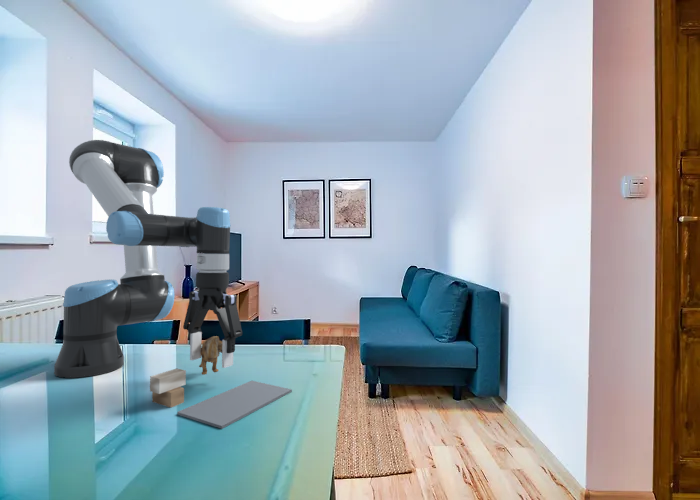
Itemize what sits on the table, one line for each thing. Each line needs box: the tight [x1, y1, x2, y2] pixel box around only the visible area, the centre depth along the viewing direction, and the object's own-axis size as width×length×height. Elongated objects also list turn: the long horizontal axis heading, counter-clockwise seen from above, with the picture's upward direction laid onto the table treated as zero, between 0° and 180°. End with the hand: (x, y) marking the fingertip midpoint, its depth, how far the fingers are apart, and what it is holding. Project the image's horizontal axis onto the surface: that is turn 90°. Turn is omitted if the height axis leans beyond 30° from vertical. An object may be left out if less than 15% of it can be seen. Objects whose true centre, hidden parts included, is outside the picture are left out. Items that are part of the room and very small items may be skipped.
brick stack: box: [149, 368, 187, 408], centre depth 76 cm, size 6×6×6 cm
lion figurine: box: [198, 335, 222, 376], centre depth 90 cm, size 15×5×9 cm, turn 33°
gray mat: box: [176, 380, 293, 430], centre depth 76 cm, size 12×20×1 cm, turn 152°
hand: (211, 362), depth 88 cm, fingers closed on lion figurine, 10 cm apart
